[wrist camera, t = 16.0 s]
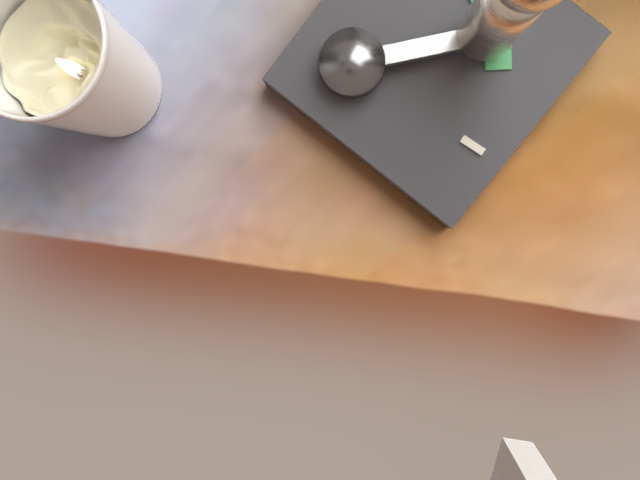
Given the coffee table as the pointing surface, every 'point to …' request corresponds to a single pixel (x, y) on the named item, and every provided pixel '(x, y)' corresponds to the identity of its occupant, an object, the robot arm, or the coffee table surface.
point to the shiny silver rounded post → (424, 44)
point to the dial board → (437, 95)
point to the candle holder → (74, 68)
